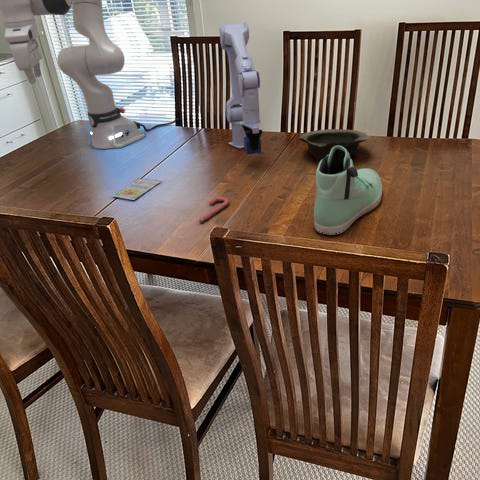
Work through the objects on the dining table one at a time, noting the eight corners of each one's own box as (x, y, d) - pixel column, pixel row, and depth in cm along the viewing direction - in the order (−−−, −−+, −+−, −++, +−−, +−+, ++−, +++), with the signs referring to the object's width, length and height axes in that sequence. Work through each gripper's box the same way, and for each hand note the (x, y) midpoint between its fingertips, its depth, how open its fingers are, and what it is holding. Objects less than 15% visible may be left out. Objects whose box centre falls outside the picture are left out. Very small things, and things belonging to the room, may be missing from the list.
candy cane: (186, 219, 140) (185, 215, 139) (217, 198, 150) (217, 194, 149) (202, 224, 137) (201, 219, 136) (233, 202, 147) (232, 198, 146)
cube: (244, 149, 171) (243, 137, 168) (258, 148, 171) (257, 135, 169) (247, 154, 167) (246, 141, 164) (261, 152, 167) (260, 139, 165)
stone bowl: (326, 173, 160) (325, 146, 155) (286, 156, 180) (285, 132, 176) (384, 155, 168) (385, 129, 164) (340, 141, 189) (339, 117, 184)
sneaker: (389, 187, 148) (396, 123, 138) (356, 242, 123) (361, 168, 112) (346, 181, 154) (350, 119, 144) (306, 232, 129) (307, 161, 118)
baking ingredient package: (111, 195, 156) (139, 178, 167) (112, 196, 156) (139, 179, 168) (133, 199, 152) (160, 181, 164) (133, 200, 153) (160, 182, 164)
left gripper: (18, 28, 150) (31, 73, 157) (2, 37, 132) (18, 88, 140) (39, 26, 150) (51, 71, 158) (26, 35, 133) (40, 86, 140)
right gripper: (235, 104, 167) (238, 141, 174) (242, 116, 154) (245, 155, 162) (255, 101, 168) (257, 139, 175) (264, 113, 155) (266, 153, 162)
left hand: (35, 79), depth 148 cm, fingers open, 8 cm apart
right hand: (252, 146), depth 168 cm, fingers closed on cube, 5 cm apart
